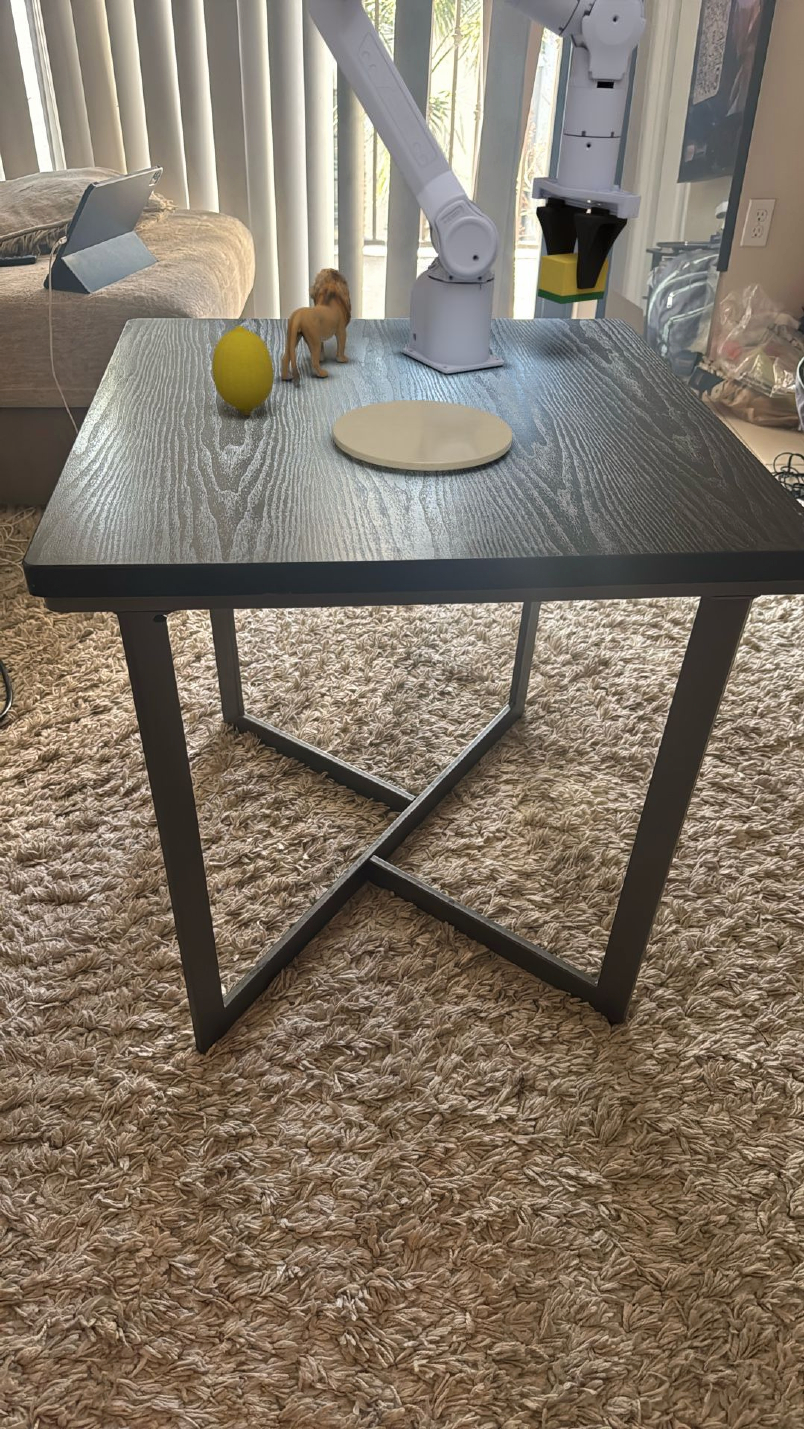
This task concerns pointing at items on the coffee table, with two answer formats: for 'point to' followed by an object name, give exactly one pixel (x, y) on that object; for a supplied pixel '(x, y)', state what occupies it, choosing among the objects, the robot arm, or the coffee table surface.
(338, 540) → the coffee table surface
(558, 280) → the sponge
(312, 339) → the lion figurine
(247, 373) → the lemon
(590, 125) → the robot arm
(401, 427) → the plate
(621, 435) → the coffee table surface
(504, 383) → the coffee table surface
